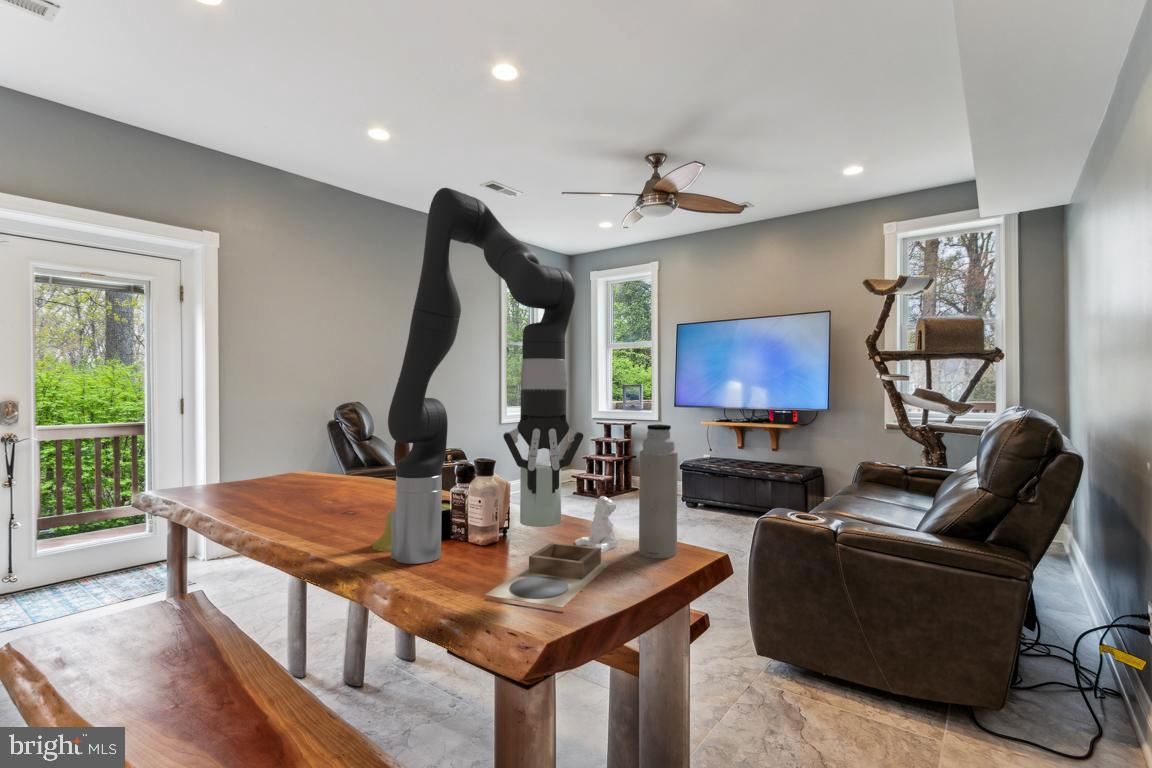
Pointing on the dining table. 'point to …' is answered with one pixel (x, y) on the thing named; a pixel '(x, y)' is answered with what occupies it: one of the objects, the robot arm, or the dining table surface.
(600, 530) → the seated beast figurine
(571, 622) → the dining table surface
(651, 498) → the thermos bottle
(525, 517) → the sage jug
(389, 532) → the handbell
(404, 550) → the robot arm
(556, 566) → the jug stand
